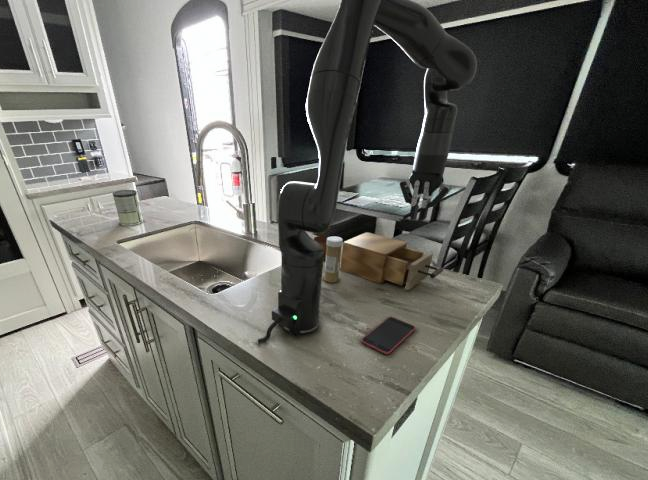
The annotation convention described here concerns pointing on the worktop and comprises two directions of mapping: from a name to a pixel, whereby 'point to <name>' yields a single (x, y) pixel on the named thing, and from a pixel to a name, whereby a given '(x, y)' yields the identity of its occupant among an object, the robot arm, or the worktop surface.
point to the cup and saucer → (322, 243)
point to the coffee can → (128, 207)
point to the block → (408, 266)
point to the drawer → (417, 271)
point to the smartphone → (388, 335)
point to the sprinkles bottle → (333, 258)
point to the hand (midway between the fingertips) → (416, 220)
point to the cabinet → (368, 255)
